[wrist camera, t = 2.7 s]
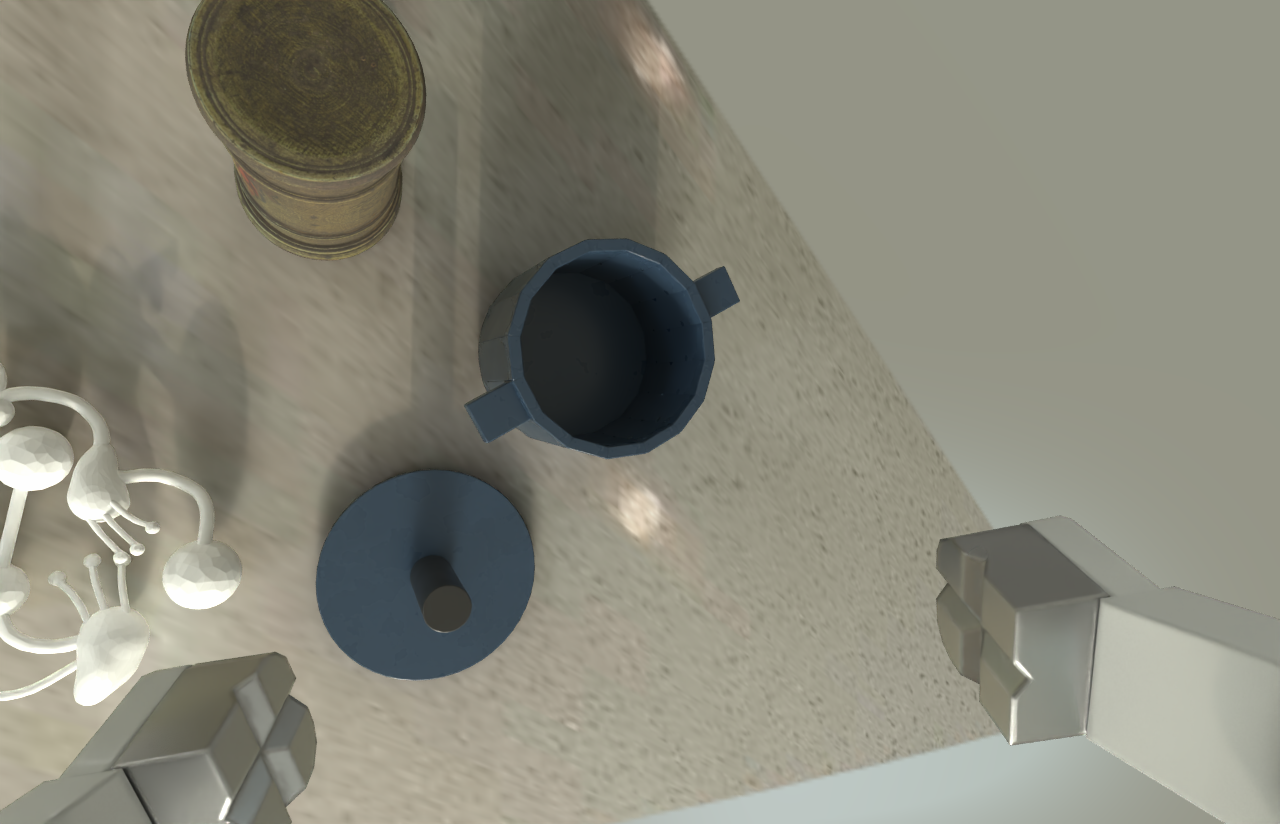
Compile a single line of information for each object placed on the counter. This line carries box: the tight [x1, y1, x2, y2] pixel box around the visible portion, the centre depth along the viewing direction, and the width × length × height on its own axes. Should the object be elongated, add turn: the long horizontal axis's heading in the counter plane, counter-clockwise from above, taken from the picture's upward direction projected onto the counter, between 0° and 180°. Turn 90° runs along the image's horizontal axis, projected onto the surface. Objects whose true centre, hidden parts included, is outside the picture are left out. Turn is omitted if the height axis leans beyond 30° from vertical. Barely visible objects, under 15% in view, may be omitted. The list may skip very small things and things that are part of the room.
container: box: [185, 0, 426, 260], centre depth 36 cm, size 9×9×18 cm
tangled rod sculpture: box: [0, 362, 242, 706], centre depth 38 cm, size 19×14×4 cm
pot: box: [464, 239, 740, 459], centre depth 46 cm, size 12×18×10 cm
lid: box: [316, 469, 535, 680], centre depth 43 cm, size 13×13×9 cm
